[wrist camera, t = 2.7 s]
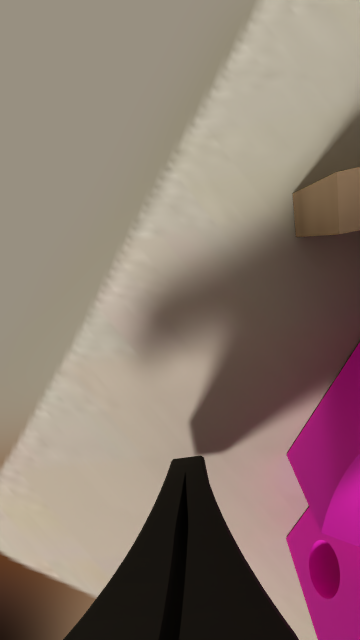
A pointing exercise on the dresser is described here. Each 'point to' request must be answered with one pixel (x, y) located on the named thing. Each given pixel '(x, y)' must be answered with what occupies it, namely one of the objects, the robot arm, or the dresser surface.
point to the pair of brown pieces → (329, 205)
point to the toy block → (331, 508)
